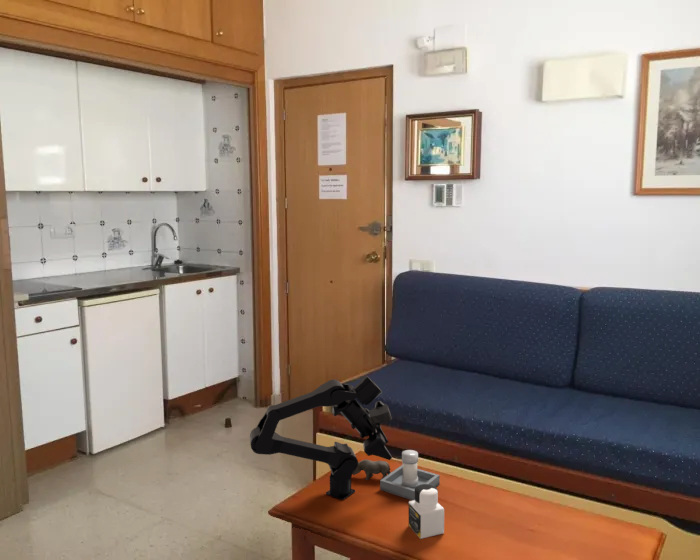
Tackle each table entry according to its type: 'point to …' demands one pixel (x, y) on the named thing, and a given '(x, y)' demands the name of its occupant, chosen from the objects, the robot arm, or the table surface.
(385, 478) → the parts tray
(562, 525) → the table surface
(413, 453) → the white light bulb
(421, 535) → the medicine bottle
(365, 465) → the rhino figurine
